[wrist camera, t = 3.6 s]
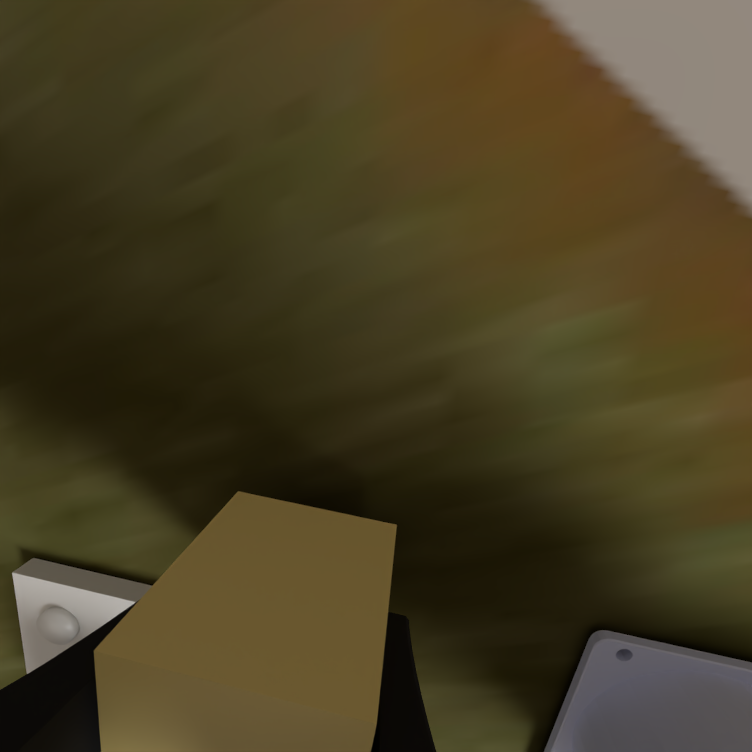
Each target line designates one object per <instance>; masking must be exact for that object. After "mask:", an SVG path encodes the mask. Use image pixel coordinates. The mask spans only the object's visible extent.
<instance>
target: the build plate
mask: <svg viewBox="0 0 752 752" xmlns="http://www.w3.org/2000/svg"><path fill="white" fill-rule="evenodd" d="M12 575H13V581H14V588H15V595H16V602H17V609H18V616H19V623H20V629H21V636H22V643H23V650H24V657H25V664H26V670H27V674H28V673H30V672H31V671H33V670H35V669H36V668H38V667H39V666H41V665H43V664H44V663H46V662H48V661H49V660H51V659H52V658H54V657H55V656H57V655H58V654H60V653H62V652H63V651H65V650H66V649H68V648H69V647H71V646H72V645H74V644H75V643H77V642H78V641H80V640H82V639H83V638H85V637H86V636H88V635H89V634H91V633H92V632H94V631H95V630H97V629H98V628H100V627H101V626H103V625H104V624H105V623H107V622H108V621H110V620H111V619H113V618H114V617H115V616H117V615H118V614H120V613H121V612H123V611H124V610H126V609H127V608H128V607H130V606H131V605H133V604H134V603H135V602H137V601H138V600H140V599H141V598H142V597H143V596H144V595H145V593H146V592H147V591H148V590H149V589H150V588H151V587H152V586H151V585H147V584H143V583H139V582H134V581H130V580H126V579H122V578H117V577H113V576H109V575H104V574H100V573H96V572H92V571H87V570H83V569H79V568H75V567H70V566H66V565H62V564H58V563H53V562H49V561H45V560H41V559H36V558H32V559H31V560H29V561H28V562H27V563H25V564H24V565H22V566H21V567H19V568H18V569H17V570H15V571H14V572H12Z"/></svg>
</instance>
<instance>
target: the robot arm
mask: <svg viewBox="0 0 752 752" xmlns="http://www.w3.org/2000/svg"><path fill="white" fill-rule="evenodd" d="M138 601H139V600H138ZM138 601H137V602H138ZM137 602H135V603H134V604H133V605H131V606H130V607H128V608H127V609H126V610H124V611H123V612H121V613H120V614H118V615H117V616H115V617H114V618H113V619H111V620H110V621H108V622H107V623H105V624H104V625H103V626H101V627H100V628H98V629H97V630H95V631H94V632H92V633H91V634H89V635H88V636H86V637H85V638H83V639H82V640H80V641H78V642H77V643H75V644H74V645H72V646H71V647H69V648H68V649H66V650H65V651H63V652H62V653H60V654H58V655H57V656H55V657H54V658H52V659H51V660H49V661H48V662H46V663H44V664H43V665H41V666H39V667H38V668H36V669H35V670H33V671H31V672H30V673H28V674H26V675H25V676H23V677H21V678H20V679H18V680H16V681H15V682H13V683H11V684H10V685H8V686H6V687H4V688H3V689H1V690H0V752H101V743H100V729H99V716H98V702H97V689H96V675H95V662H94V650H95V649H96V648H97V646H98V645H99V644H100V643H101V642H102V641H103V640H104V639H105V638H106V636H107V635H108V634H109V633H110V632H111V631H112V630H113V629H114V628H115V627H116V625H117V624H118V623H119V622H120V621H121V620H122V619H123V618H124V617H125V616H126V614H127V613H128V612H129V611H130V610H131V609H132V608H133V607H134V606H135V604H136V603H137ZM371 752H436V749H435V746H434V742H433V739H432V735H431V731H430V728H429V724H428V720H427V716H426V712H425V708H424V704H423V700H422V695H421V691H420V687H419V682H418V678H417V673H416V668H415V663H414V657H413V652H412V645H411V638H410V630H409V620H408V619H407V617H406V616H403V615H399V614H395V613H390V612H388V618H387V627H386V637H385V647H384V657H383V667H382V677H381V687H380V697H379V706H378V716H377V725H376V730H375V735H374V739H373V744H372V749H371ZM544 752H752V662H747V661H743V660H738V659H734V658H729V657H725V656H720V655H716V654H711V653H707V652H702V651H698V650H693V649H689V648H684V647H680V646H675V645H671V644H666V643H662V642H657V641H653V640H648V639H644V638H639V637H635V636H630V635H626V634H621V633H616V632H612V631H607V630H600V631H596V632H594V633H593V634H592V635H591V636H590V638H589V640H588V642H587V645H586V647H585V650H584V652H583V655H582V657H581V660H580V662H579V665H578V667H577V670H576V672H575V675H574V677H573V680H572V682H571V685H570V687H569V690H568V692H567V695H566V697H565V700H564V702H563V705H562V707H561V710H560V712H559V715H558V717H557V720H556V722H555V725H554V727H553V730H552V732H551V735H550V738H549V740H548V743H547V745H546V748H545V750H544Z"/></svg>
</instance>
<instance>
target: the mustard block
mask: <svg viewBox="0 0 752 752" xmlns="http://www.w3.org/2000/svg"><path fill="white" fill-rule="evenodd" d="M396 529H397V525H396V524H391V523H386V522H381V521H377V520H372V519H367V518H362V517H358V516H353V515H348V514H344V513H339V512H334V511H329V510H325V509H320V508H315V507H310V506H306V505H301V504H296V503H291V502H287V501H282V500H277V499H272V498H268V497H263V496H258V495H253V494H249V493H244V492H239V491H238V492H237V493H236V494H235V495H234V496H233V497H232V498H231V500H230V501H229V502H228V503H227V504H226V505H225V506H224V507H223V508H222V510H221V511H220V512H219V513H218V514H217V515H216V516H215V517H214V518H213V519H212V521H211V522H210V523H209V524H208V525H207V526H206V527H205V528H204V529H203V531H202V532H201V533H200V534H199V535H198V536H197V537H196V538H195V539H194V540H193V542H192V543H191V544H190V545H189V546H188V547H187V548H186V549H185V550H184V551H183V553H182V554H181V555H180V556H179V557H178V558H177V559H176V560H175V561H174V563H173V564H172V565H171V566H170V567H169V568H168V569H167V570H166V571H165V572H164V574H163V575H162V576H161V577H160V578H159V579H158V580H157V581H156V582H155V583H154V585H153V586H152V587H151V588H150V589H149V590H148V591H147V592H146V593H145V595H144V596H143V597H142V598H141V599H140V600H139V601H138V602H137V603H136V604H135V606H134V607H133V608H132V609H131V610H130V611H129V612H128V613H127V614H126V616H125V617H124V618H123V619H122V620H121V621H120V622H119V623H118V624H117V625H116V627H115V628H114V629H113V630H112V631H111V632H110V633H109V634H108V635H107V636H106V638H105V639H104V640H103V641H102V642H101V643H100V644H99V645H98V646H97V648H96V649H95V650H94V662H95V675H96V689H97V702H98V716H99V729H100V743H101V752H371V749H372V744H373V739H374V735H375V730H376V725H377V716H378V706H379V697H380V687H381V677H382V667H383V657H384V647H385V637H386V627H387V618H388V608H389V598H390V588H391V578H392V568H393V558H394V549H395V539H396Z"/></svg>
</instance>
